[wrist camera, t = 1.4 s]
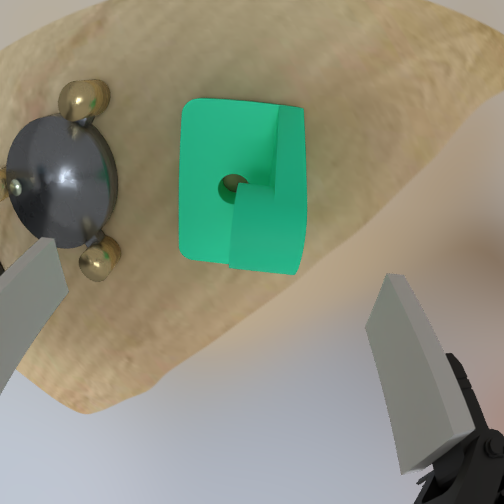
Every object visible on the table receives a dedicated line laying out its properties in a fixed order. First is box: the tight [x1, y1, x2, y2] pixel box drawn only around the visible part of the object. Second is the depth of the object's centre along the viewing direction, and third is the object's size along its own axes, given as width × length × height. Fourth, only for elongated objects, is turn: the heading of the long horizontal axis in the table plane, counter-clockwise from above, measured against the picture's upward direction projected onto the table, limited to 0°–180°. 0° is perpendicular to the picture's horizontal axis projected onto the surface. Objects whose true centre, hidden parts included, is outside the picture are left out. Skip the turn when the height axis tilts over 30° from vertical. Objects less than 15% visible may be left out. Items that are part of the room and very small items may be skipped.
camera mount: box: [179, 98, 307, 275], centre depth 18 cm, size 12×8×10 cm, turn 174°
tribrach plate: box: [0, 80, 121, 282], centre depth 21 cm, size 16×17×3 cm
